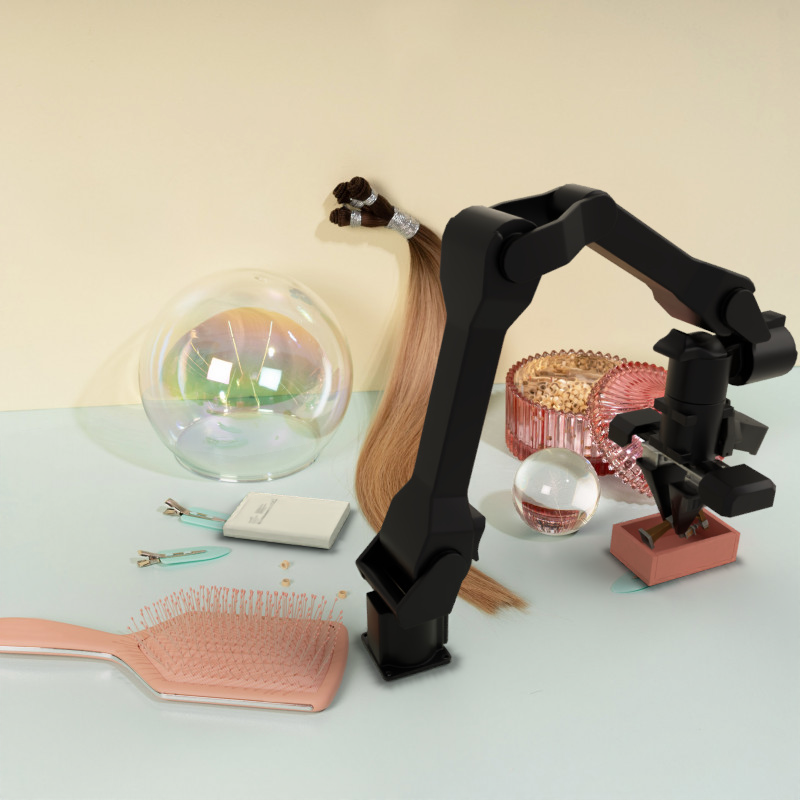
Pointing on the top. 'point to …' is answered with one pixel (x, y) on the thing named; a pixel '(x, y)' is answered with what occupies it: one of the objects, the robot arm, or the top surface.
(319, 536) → the hard drive
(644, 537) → the wooden post with brackets
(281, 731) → the top surface
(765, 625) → the top surface
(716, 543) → the tray
